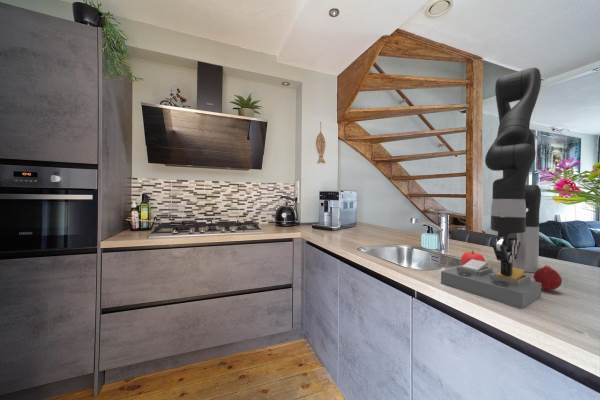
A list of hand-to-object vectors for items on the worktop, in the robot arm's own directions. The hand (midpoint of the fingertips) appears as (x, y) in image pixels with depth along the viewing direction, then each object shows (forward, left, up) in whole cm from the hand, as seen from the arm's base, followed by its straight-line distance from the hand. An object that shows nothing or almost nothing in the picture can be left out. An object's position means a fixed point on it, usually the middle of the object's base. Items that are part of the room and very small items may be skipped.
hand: (506, 274), depth 67 cm
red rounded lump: (-15, +5, -6) cm, 17 cm away
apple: (-17, -15, -6) cm, 23 cm away
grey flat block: (0, -5, -6) cm, 7 cm away
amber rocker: (-3, 0, 0) cm, 3 cm away
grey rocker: (-3, -9, 0) cm, 9 cm away
